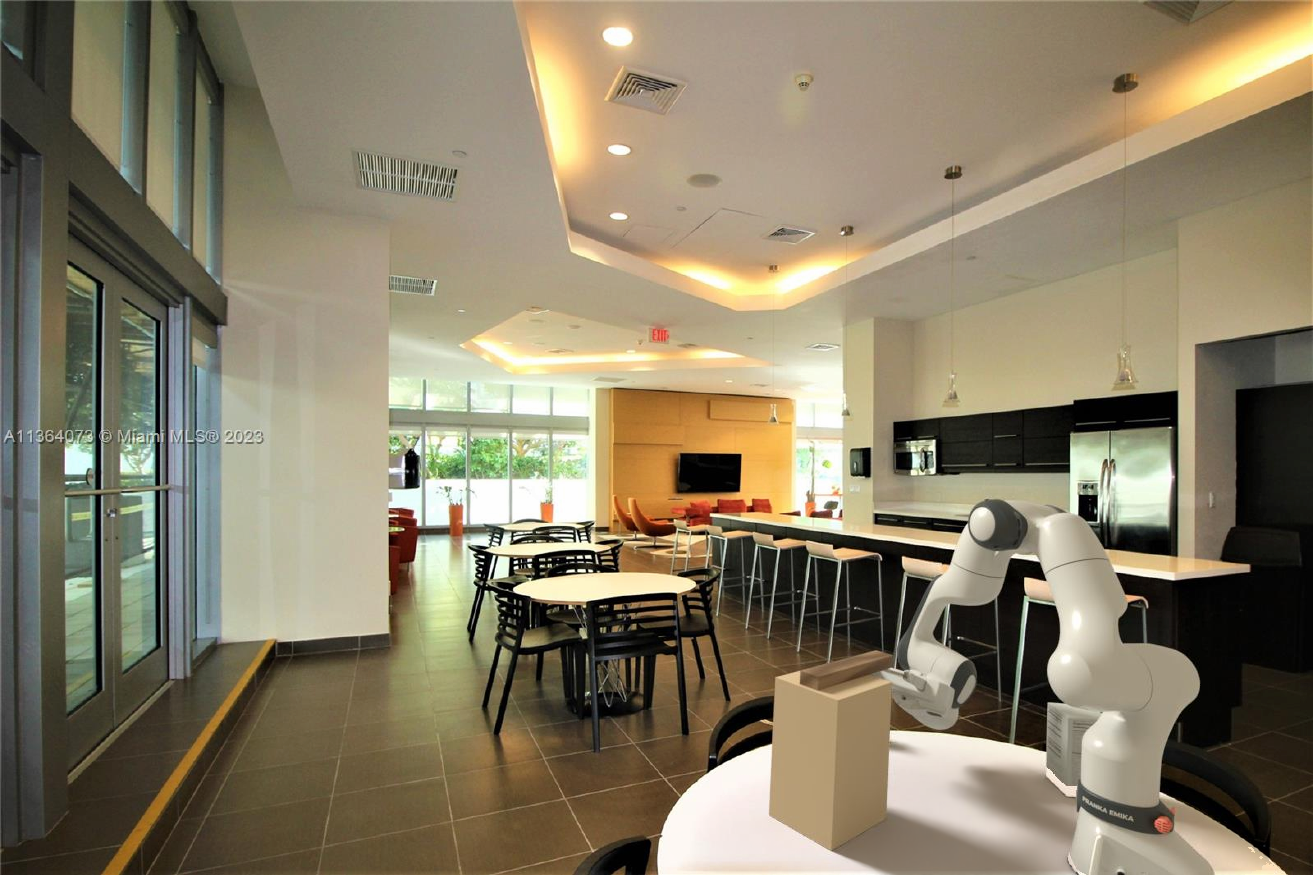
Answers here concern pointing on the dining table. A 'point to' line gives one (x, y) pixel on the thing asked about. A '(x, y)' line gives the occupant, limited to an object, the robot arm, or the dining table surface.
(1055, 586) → the robot arm
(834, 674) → the slat
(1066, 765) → the supplement box
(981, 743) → the dining table surface
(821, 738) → the carton
